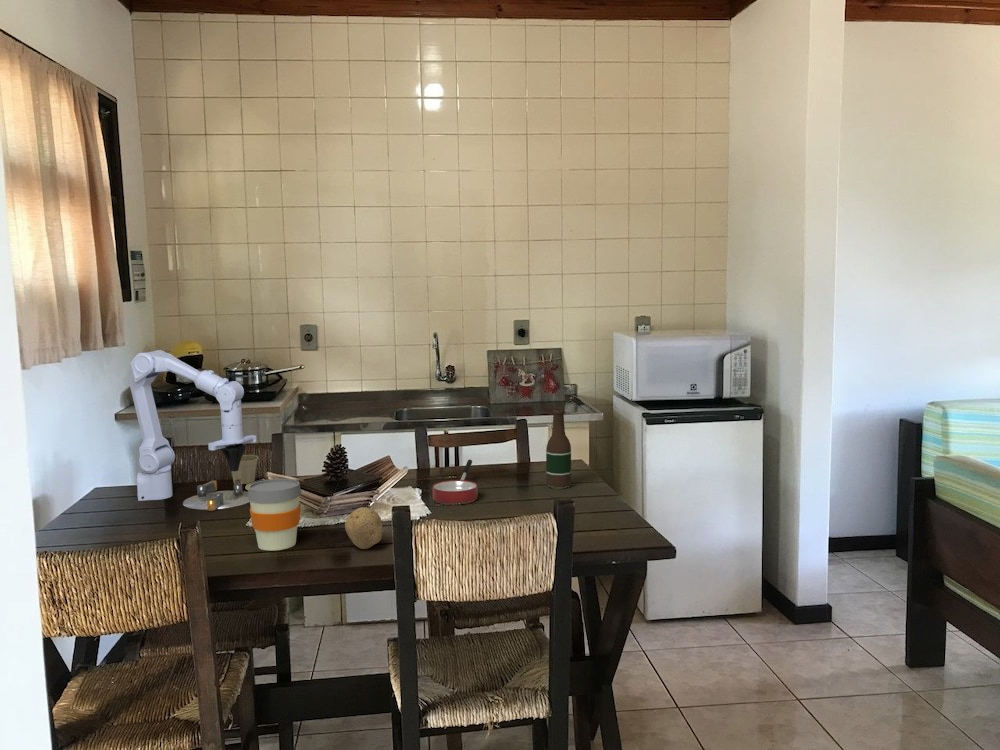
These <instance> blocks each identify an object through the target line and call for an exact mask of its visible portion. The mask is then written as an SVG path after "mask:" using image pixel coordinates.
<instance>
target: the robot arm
mask: <svg viewBox="0 0 1000 750" xmlns="http://www.w3.org/2000/svg"><path fill="white" fill-rule="evenodd" d="M129 363H130V368H131V371H130V376H129V379H128V382H129V383H128V384H129V388H130V391H131V397H132V400H133V404H134V408H135V413H136V417H137V422H138V427H139V430H140V433H141V434H140V435H141V439H142V442H141V444H140V445H139V448H138V451H139V452H138V453H139V459H138V465H139V467H140V469H141V470H142V472H137V475H136V485H137V486H136V487H137V492H136V493H137V500H138V501H139V502H141V501H142V502H143V501H158V500H165V499H169V498H171V497H172V496H174V495H173V483H172V465H173V463H174V461H175V459H176V454H175V451H174V450H173V449H172V447H171V445H170V442H169V440H168V439H167V438H166V437H165V436H163V433H162V428H161V423H160V419H159V414H158V411H157V406H156V403H155V398H154V393H153V389H152V383H153V382H154V381H155V379H156V377H157V376H159V375H160V374H162V373H165V372H171V373H173V374H176V375H178V376H180V377H182V378H185V379H187V380H189V381H192V382H193V383H194V385H195V387H196V388H197V389H198V390H201V391H202V392H205V393H207V394H209V395H210V396H213V397H214V398H216V401H217V402H218V403H219V406H220V407H219V409H220V421H221V423H220V424H221V439H220V440H216V441H212V442H208V451H216V450H219V449H220V450H221V452H222V454H223V455H224V456H225V459H226V461H227V464H228V466H229V470H230V471H238V470H239V465H240V461H241V457H242V455H244V453H245V450H246V445H245V444H250V443H251V444H252V443H253V444H254V443H257V435H254V434H251V435H244V432H243V431H244V430H243V414H242V413H243V412H242V398H244V395H245V389H244V387H243V385H242V384H240V383H239V382H238V381H237V380H235V381H234V380H232V381H229V379H228V378H227V377H226V378H223V377H222V376H219V375H217V374H215V371H214V370H212V369H210V370H209V369H208V370H207V369H205V370H202V371H200V370H198V369H196V368H194V367H193V366H191V365H189V364H188V363H186V362H184V361H182V360H180V359H179V358H177V357H175V356H174V355H173V354H171V353H168V352H166V351H164V350H162V349H156V350H154V351H147V352H139V353H138V354H136V355H135V356H134V357H133V359H132V360H130V362H129ZM138 501H137V502H138Z"/></svg>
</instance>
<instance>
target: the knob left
mask: <svg viewBox="0 0 1000 750" xmlns="http://www.w3.org/2000/svg"><path fill="white" fill-rule="evenodd" d="M217 482H218V481H217V480H210V481H208V482H206V483H204V484H199V485H197V486H196V490H197V491H196V493H197V495H198V497H204V496H206V495H208V494H210V493H212V492H217V491H218V483H217Z"/></svg>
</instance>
